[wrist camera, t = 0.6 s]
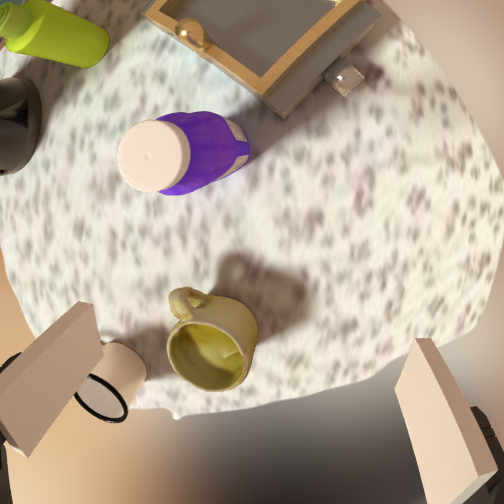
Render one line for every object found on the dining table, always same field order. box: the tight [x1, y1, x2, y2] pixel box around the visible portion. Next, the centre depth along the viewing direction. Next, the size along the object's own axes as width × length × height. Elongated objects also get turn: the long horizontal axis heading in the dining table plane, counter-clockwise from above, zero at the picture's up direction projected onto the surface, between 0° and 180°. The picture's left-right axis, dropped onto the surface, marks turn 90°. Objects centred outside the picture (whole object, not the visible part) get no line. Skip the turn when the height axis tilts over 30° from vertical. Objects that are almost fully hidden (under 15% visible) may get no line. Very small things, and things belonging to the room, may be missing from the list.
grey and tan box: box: [140, 0, 381, 120], centre depth 21 cm, size 21×15×12 cm
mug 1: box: [74, 342, 147, 423], centre depth 39 cm, size 12×10×9 cm
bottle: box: [117, 111, 250, 195], centre depth 24 cm, size 7×6×17 cm
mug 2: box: [167, 287, 258, 392], centre depth 35 cm, size 12×10×10 cm
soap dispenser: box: [0, 0, 109, 68], centre depth 19 cm, size 6×7×20 cm
